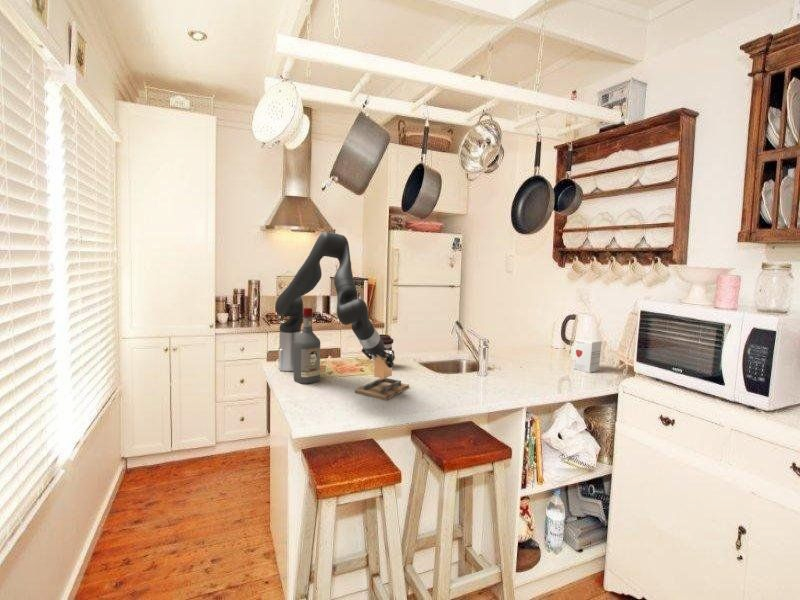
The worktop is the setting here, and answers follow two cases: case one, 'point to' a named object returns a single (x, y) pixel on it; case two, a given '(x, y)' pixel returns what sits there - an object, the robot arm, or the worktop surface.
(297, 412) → the worktop surface
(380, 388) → the board
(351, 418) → the worktop surface
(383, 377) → the block
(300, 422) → the worktop surface
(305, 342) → the liquor
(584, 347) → the supplement box
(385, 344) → the coffee cup
